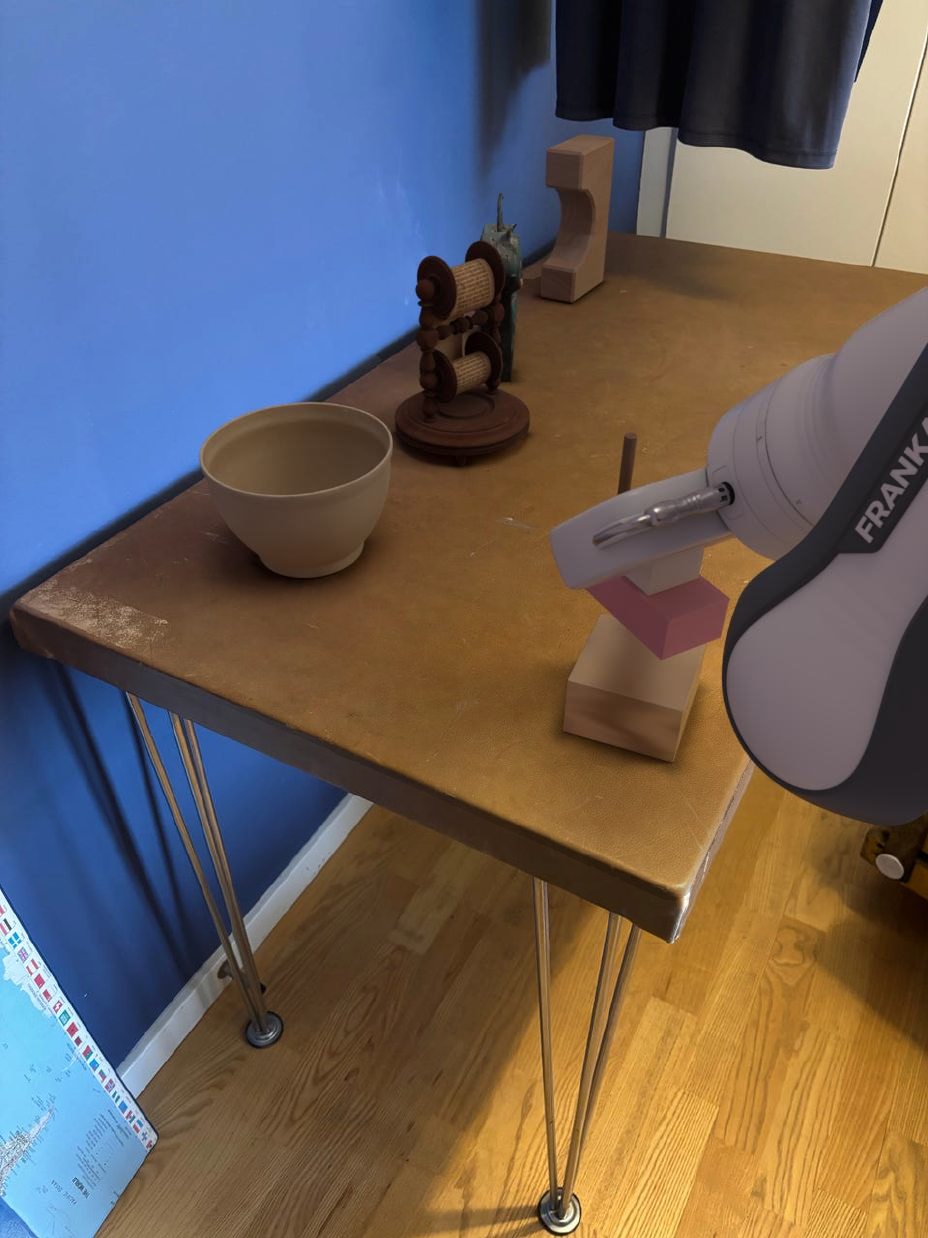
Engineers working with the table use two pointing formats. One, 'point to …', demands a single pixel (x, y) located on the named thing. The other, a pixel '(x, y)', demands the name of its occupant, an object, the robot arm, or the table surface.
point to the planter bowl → (300, 483)
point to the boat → (663, 594)
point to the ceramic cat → (506, 284)
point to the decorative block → (578, 215)
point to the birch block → (631, 692)
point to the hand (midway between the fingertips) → (653, 538)
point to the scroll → (461, 361)
